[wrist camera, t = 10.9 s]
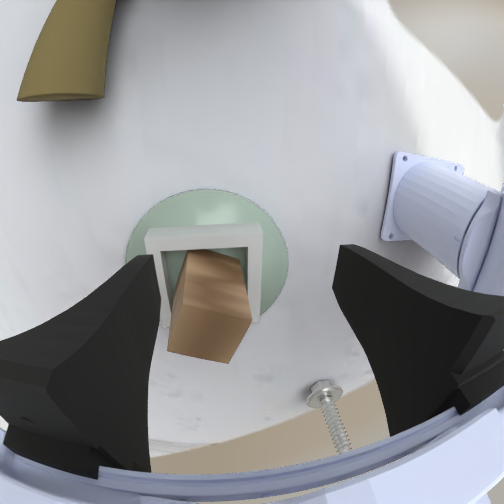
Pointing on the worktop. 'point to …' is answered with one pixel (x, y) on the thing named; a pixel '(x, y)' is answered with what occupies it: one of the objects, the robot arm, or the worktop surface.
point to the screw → (330, 411)
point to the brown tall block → (209, 307)
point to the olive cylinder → (70, 53)
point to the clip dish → (213, 243)
